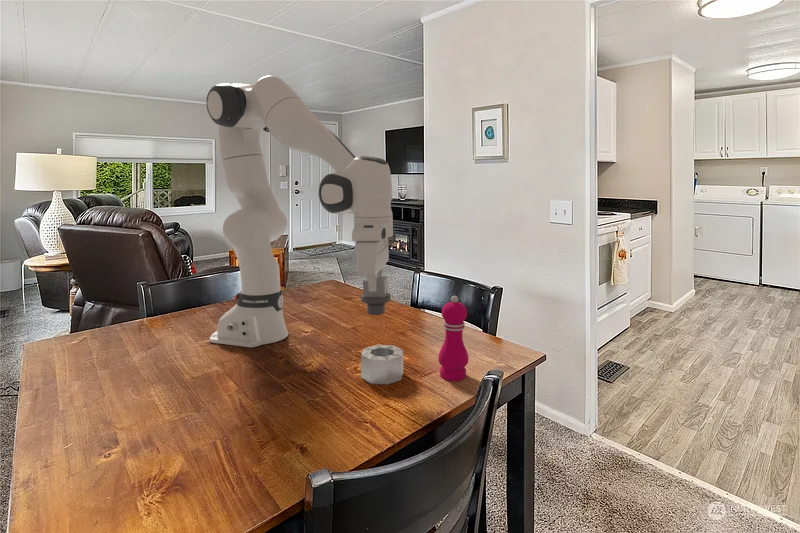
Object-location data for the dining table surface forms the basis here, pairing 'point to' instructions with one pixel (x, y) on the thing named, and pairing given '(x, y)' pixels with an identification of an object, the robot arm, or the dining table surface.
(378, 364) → the grey octagonal nut
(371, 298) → the grey stepped piece
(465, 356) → the pepper mill
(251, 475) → the dining table surface
